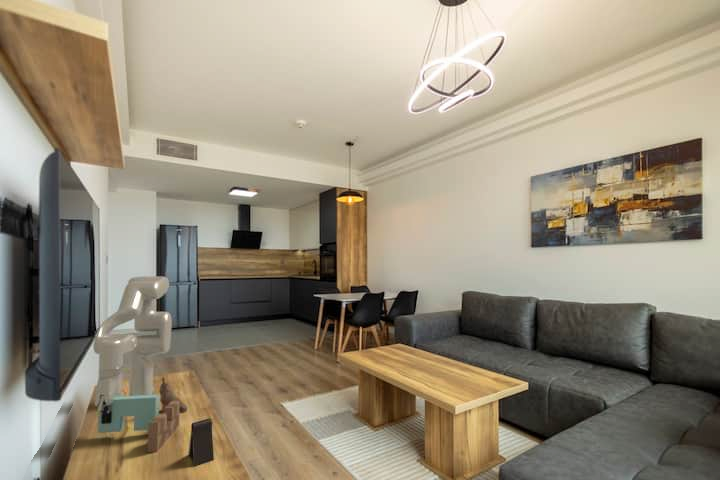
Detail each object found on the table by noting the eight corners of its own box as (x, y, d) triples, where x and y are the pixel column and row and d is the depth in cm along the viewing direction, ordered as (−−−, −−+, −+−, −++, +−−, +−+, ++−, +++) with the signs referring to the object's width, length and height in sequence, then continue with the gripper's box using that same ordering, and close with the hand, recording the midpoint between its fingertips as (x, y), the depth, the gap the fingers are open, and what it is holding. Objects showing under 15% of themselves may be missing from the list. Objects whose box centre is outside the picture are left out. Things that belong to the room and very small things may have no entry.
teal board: (102, 428, 132) (103, 397, 132) (158, 425, 135) (159, 394, 135) (97, 433, 129) (99, 400, 129) (154, 429, 132) (155, 397, 132)
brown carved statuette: (158, 424, 147) (149, 384, 146) (157, 419, 152) (149, 380, 151) (188, 412, 154) (180, 373, 153) (187, 407, 158) (179, 370, 157)
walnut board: (171, 425, 140) (171, 400, 141) (178, 425, 141) (179, 400, 142) (147, 452, 121) (149, 422, 121) (157, 451, 121) (158, 422, 122)
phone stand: (213, 460, 116) (214, 423, 117) (194, 466, 112) (195, 428, 113) (206, 448, 123) (207, 414, 124) (188, 454, 119) (189, 418, 120)
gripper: (112, 365, 139) (110, 411, 139) (86, 380, 123) (84, 432, 122) (132, 364, 140) (131, 410, 140) (109, 379, 124) (107, 431, 123)
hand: (109, 420), depth 131 cm, fingers closed on teal board, 3 cm apart
